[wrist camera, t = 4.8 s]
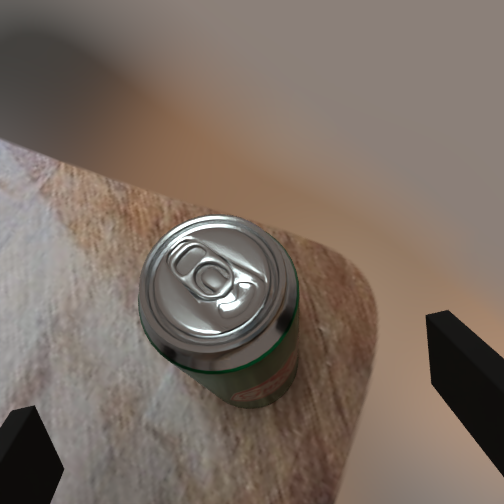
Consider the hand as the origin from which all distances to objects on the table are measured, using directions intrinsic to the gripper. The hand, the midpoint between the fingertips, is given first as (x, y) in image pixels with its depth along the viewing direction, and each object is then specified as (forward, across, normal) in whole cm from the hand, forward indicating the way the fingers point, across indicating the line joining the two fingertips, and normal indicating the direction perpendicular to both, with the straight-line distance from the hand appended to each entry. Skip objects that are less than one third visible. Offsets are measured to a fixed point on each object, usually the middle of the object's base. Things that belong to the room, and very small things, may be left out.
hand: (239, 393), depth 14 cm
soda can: (+8, 0, -4) cm, 9 cm away
